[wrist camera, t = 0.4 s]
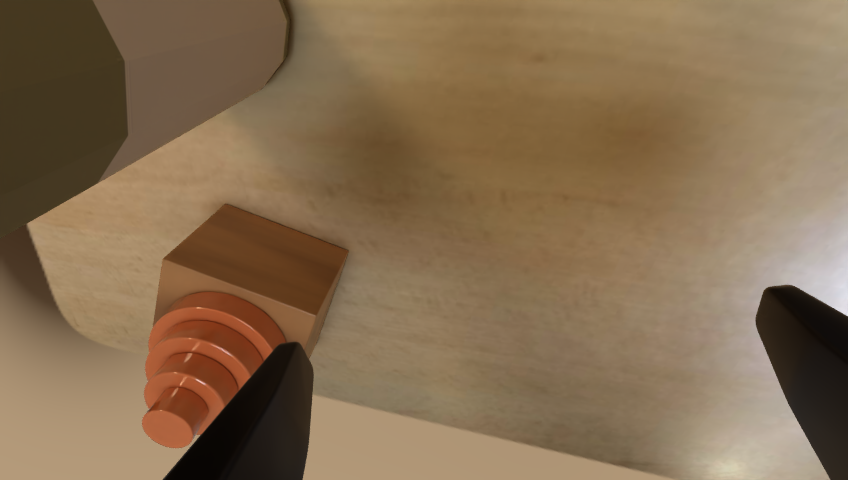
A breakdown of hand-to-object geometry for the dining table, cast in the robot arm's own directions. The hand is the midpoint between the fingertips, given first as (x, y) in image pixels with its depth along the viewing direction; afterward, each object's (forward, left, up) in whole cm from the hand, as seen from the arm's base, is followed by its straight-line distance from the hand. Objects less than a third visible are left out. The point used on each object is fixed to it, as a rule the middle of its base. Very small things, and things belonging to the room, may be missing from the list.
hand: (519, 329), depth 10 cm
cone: (-13, +8, -9) cm, 18 cm away
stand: (-13, +8, -15) cm, 22 cm away
